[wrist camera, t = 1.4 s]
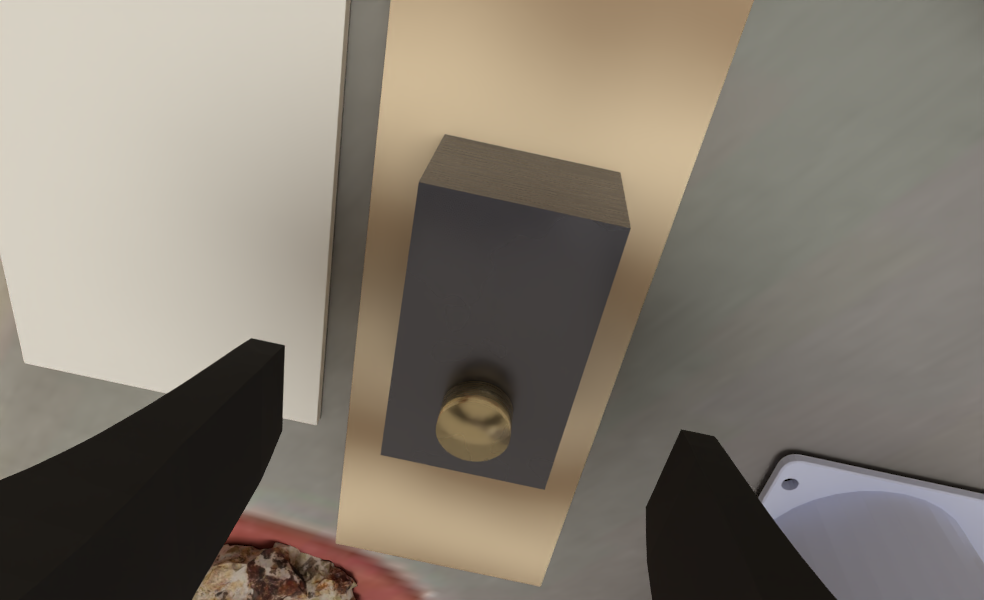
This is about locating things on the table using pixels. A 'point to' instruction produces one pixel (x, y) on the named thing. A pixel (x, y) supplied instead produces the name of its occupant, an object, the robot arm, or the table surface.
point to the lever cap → (500, 307)
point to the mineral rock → (273, 576)
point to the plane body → (540, 130)
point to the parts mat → (171, 184)
